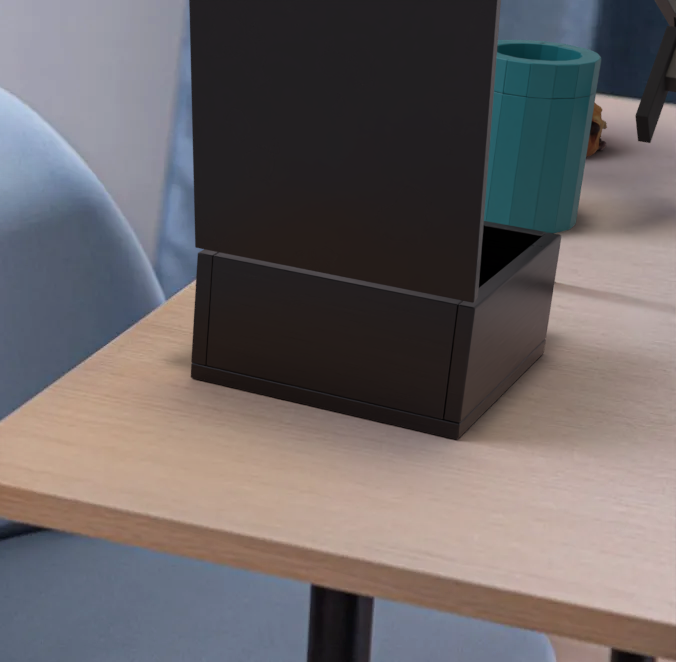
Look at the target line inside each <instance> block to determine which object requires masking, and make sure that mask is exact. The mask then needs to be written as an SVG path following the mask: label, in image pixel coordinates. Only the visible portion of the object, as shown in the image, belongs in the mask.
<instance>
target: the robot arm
mask: <svg viewBox="0 0 676 662" xmlns="http://www.w3.org/2000/svg"><path fill="white" fill-rule="evenodd" d="M654 2H655V4H656V5H657V7H658V9H659V10H660V12H661V14H662V15H663V17H664V18H665V19H664V20H666V22H667V24H668V25H666V28H665V30H664V34H663V36H662V39H661V41H660V45H659V48H658V50H657V53H656V55H655V59H654V62H653V65H652V67H651V70H650V73H649V76H648V79H647V81H646V85H645V87H644V89H643V93H642V96H641V99H640V101H639V104H638V107H637V110H636V113H635V115H634V116H635V117H634V118H635V127H636V137H637V142H639V143H647V144H651V143H652V140H653V136H654V134H655V131H656V128H657V125H658V122H659V120H660V119H659V118H660V117H661V113H662V111H663V109H664V106H665V102H666V100H667V96H668V93H669V92H671V93H676V0H654Z"/></svg>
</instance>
